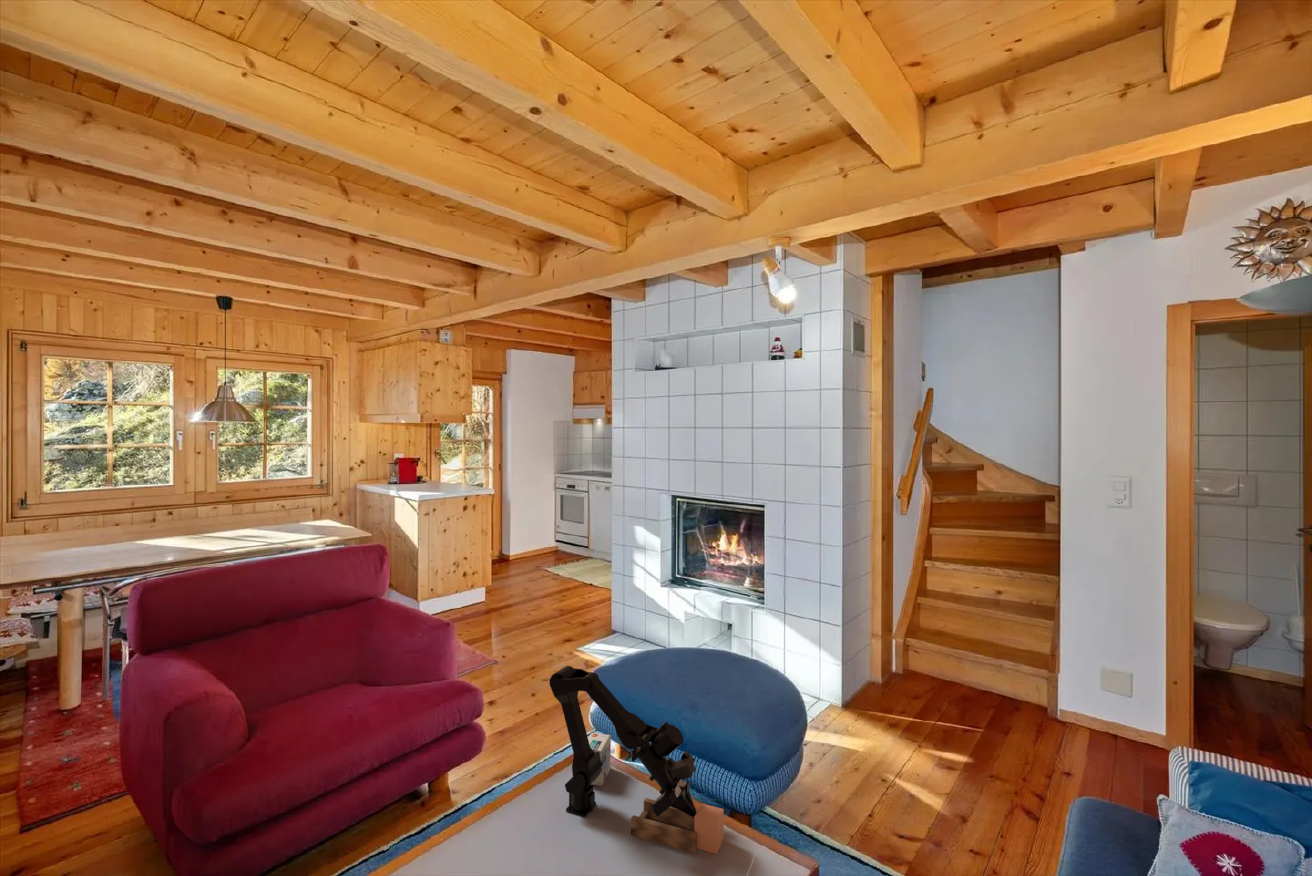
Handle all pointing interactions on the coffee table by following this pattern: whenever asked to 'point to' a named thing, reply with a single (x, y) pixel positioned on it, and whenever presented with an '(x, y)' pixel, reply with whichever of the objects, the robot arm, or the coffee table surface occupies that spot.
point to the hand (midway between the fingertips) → (695, 816)
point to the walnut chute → (665, 827)
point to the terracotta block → (709, 828)
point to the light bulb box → (601, 754)
